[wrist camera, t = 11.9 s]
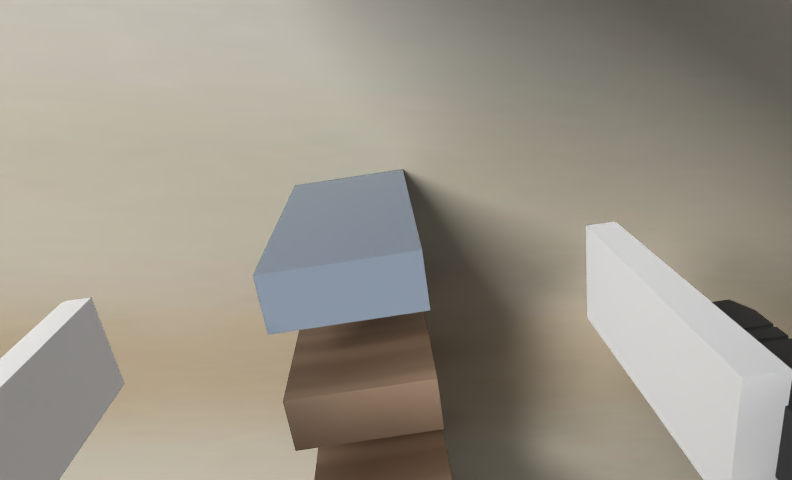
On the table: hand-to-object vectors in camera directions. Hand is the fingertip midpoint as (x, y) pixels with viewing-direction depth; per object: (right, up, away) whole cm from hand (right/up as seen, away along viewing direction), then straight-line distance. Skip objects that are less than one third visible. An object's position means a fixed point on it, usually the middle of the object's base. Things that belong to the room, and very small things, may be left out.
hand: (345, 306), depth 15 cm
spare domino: (-1, +4, +11) cm, 12 cm away
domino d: (0, 0, +13) cm, 13 cm away
